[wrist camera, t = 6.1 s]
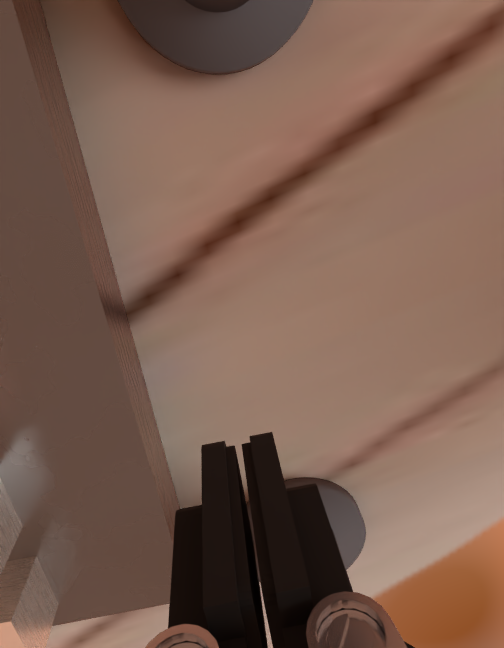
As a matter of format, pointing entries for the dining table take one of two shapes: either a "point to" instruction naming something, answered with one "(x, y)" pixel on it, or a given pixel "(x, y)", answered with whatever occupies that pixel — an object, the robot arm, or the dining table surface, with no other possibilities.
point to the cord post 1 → (216, 30)
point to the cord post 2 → (334, 518)
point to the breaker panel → (66, 376)
